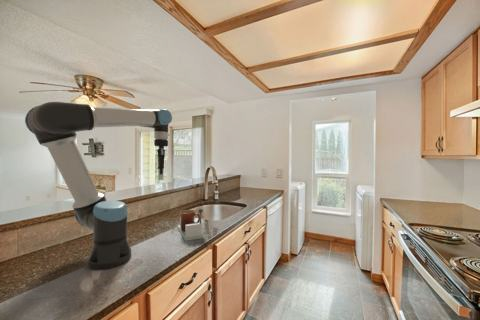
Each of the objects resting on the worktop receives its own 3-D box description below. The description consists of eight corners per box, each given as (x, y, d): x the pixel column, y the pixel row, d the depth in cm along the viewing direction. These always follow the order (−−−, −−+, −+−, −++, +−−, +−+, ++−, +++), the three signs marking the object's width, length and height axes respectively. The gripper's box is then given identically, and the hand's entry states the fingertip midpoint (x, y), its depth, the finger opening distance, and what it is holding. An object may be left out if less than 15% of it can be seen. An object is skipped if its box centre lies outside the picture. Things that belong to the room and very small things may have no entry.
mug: (176, 231, 112) (176, 213, 111) (183, 226, 120) (184, 209, 120) (196, 233, 109) (196, 214, 109) (202, 228, 118) (203, 210, 118)
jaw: (180, 227, 118) (180, 217, 118) (178, 223, 125) (178, 214, 124) (194, 225, 121) (194, 216, 121) (191, 221, 128) (191, 213, 128)
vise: (185, 240, 103) (185, 211, 103) (177, 227, 123) (177, 202, 122) (203, 237, 107) (203, 209, 107) (192, 225, 127) (193, 201, 127)
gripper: (169, 138, 113) (169, 180, 114) (166, 140, 125) (166, 178, 125) (155, 138, 110) (154, 181, 110) (153, 139, 122) (153, 178, 122)
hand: (160, 179), depth 118 cm, fingers closed
